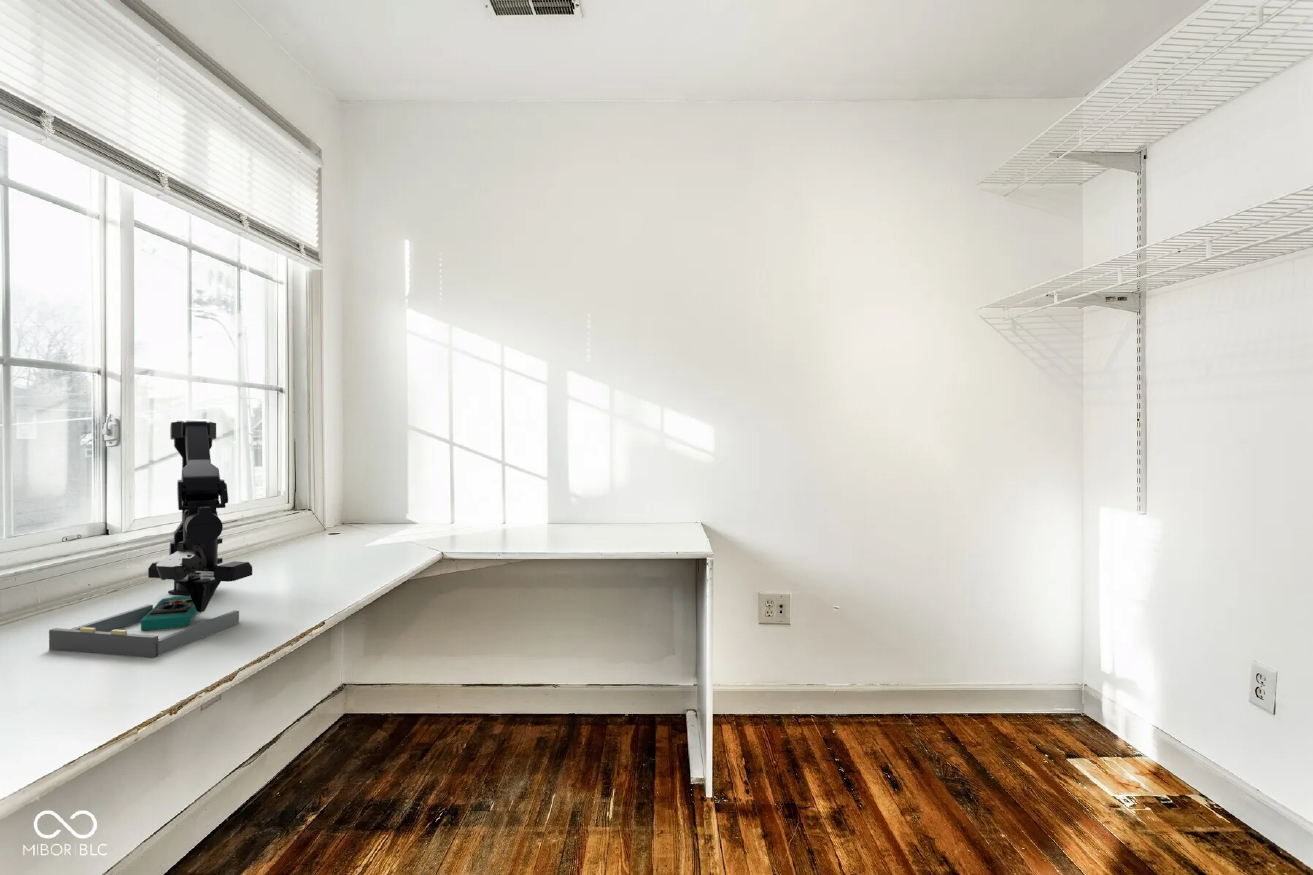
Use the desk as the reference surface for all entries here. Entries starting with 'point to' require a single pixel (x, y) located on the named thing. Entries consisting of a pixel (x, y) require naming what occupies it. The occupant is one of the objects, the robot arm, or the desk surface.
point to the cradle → (132, 635)
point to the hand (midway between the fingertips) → (201, 611)
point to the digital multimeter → (170, 614)
